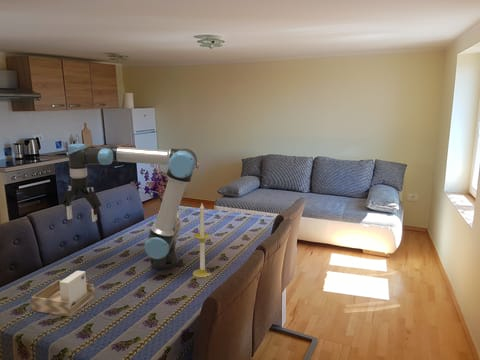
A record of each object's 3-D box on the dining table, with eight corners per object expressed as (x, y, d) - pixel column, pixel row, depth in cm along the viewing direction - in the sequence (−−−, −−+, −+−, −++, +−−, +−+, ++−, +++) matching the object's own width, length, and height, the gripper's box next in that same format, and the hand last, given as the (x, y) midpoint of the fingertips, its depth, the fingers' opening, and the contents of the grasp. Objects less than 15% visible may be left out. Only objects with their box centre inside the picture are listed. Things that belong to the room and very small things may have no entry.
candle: (189, 276, 183) (187, 203, 176) (198, 268, 192) (197, 198, 185) (207, 279, 179) (206, 205, 172) (215, 271, 189) (215, 200, 181)
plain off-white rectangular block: (87, 297, 159) (86, 271, 157) (71, 310, 149) (68, 283, 146) (79, 295, 160) (77, 270, 158) (61, 309, 150) (59, 282, 147)
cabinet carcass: (94, 296, 162) (93, 284, 160) (70, 316, 146) (68, 302, 145) (59, 291, 166) (58, 279, 164) (32, 310, 150) (30, 297, 149)
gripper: (107, 176, 174) (109, 219, 178) (61, 174, 179) (65, 215, 183) (97, 179, 166) (100, 224, 170) (50, 176, 172) (54, 220, 176)
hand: (82, 219), depth 177 cm, fingers open, 13 cm apart
